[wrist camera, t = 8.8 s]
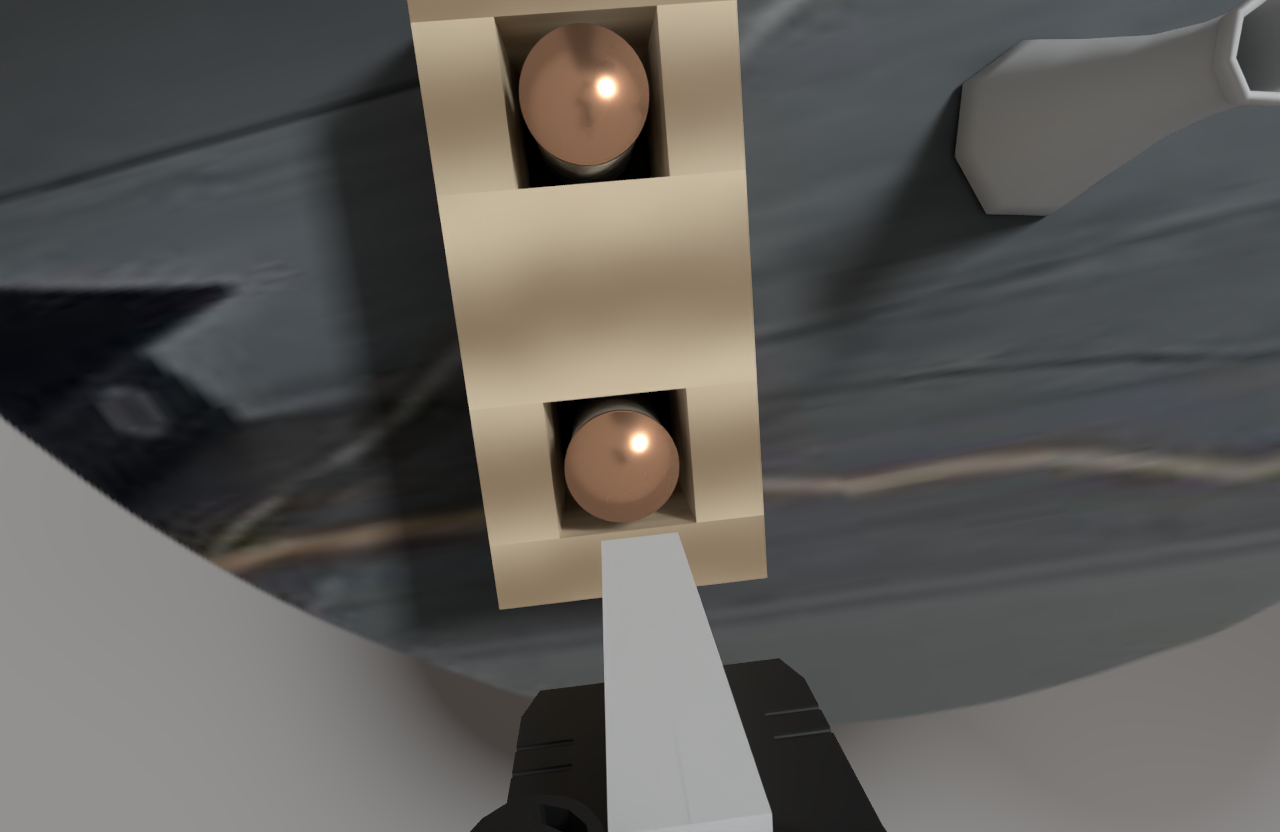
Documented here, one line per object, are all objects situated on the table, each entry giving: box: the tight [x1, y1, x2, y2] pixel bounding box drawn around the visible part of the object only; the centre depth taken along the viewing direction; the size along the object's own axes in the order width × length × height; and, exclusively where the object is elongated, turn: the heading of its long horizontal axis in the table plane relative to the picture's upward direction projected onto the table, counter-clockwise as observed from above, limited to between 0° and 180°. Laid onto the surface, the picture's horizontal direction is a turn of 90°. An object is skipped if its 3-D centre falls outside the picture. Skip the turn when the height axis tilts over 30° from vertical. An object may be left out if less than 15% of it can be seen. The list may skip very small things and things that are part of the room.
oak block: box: [407, 0, 767, 610], centre depth 24 cm, size 22×10×6 cm, turn 5°
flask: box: [955, 0, 1280, 216], centre depth 22 cm, size 7×7×10 cm
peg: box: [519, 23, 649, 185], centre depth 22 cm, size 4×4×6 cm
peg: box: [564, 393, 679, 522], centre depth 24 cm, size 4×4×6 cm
